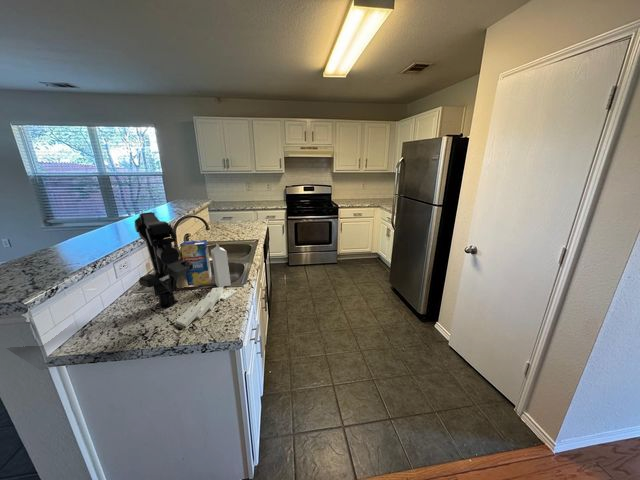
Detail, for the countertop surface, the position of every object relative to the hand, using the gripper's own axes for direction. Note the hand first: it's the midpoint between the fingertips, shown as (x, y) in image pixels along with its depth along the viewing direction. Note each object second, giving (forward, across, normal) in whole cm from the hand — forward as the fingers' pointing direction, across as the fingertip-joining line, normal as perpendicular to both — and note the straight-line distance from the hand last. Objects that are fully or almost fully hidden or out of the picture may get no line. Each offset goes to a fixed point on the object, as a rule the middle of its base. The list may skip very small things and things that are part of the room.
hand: (171, 292), depth 101 cm
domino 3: (+11, +15, -5) cm, 19 cm away
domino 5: (+12, +18, -6) cm, 23 cm away
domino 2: (+11, +3, -6) cm, 13 cm away
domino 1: (+11, -3, -6) cm, 13 cm away
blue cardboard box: (+12, +28, +18) cm, 36 cm away
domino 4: (+11, +9, -6) cm, 16 cm away
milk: (+12, +30, +4) cm, 33 cm away
